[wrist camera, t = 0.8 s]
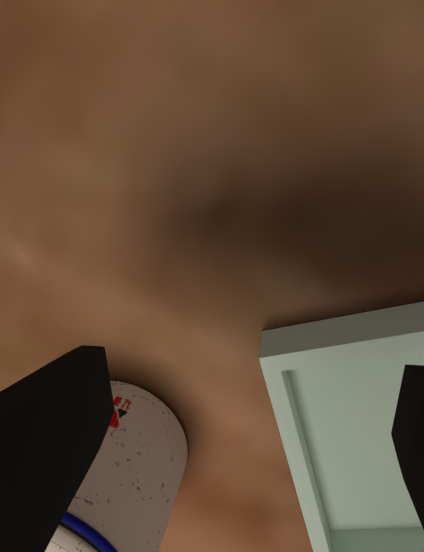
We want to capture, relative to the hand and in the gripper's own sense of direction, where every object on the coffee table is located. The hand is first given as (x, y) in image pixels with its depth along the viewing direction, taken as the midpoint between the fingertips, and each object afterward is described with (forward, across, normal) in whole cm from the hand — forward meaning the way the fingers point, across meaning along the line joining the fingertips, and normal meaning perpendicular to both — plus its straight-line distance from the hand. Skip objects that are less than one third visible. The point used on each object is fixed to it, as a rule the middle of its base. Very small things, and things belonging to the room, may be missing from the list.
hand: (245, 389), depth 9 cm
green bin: (+9, -7, +9) cm, 14 cm away
